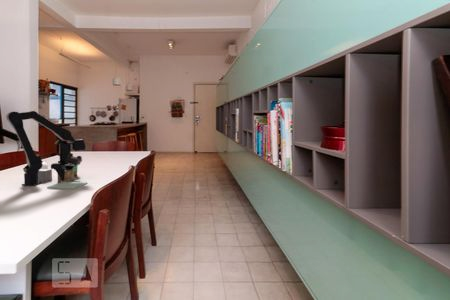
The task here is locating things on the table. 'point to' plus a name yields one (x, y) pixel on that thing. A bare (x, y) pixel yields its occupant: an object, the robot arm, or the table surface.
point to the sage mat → (67, 185)
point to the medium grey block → (45, 175)
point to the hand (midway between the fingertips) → (65, 179)
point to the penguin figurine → (44, 165)
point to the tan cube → (67, 176)
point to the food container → (75, 170)
